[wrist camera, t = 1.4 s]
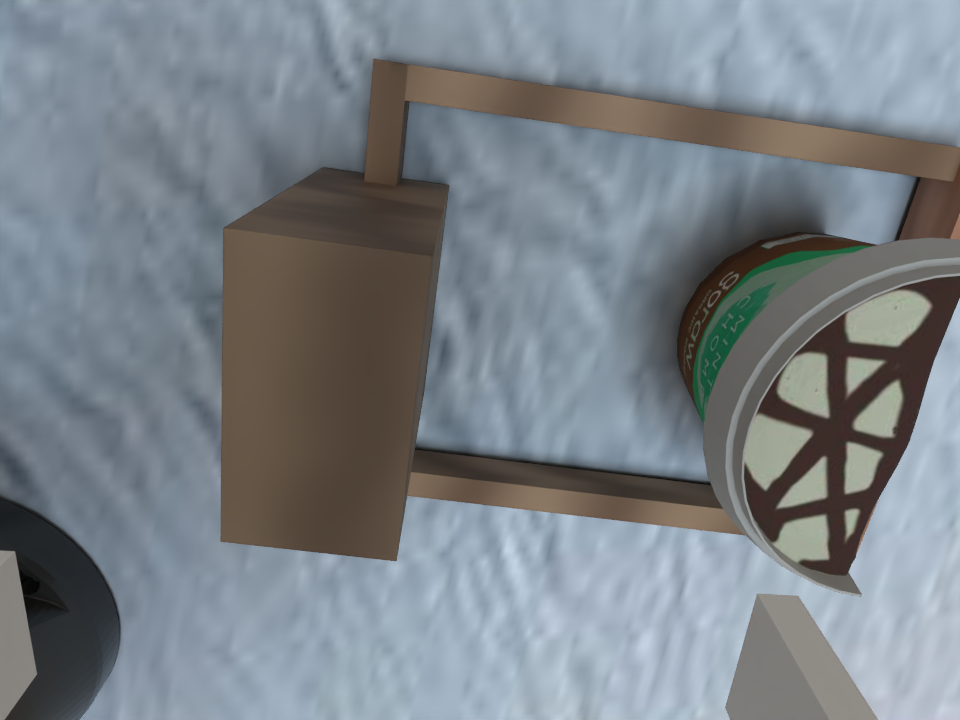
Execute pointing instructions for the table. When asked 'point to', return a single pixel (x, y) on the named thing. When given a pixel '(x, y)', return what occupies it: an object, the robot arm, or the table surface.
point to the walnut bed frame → (409, 316)
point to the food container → (814, 384)
